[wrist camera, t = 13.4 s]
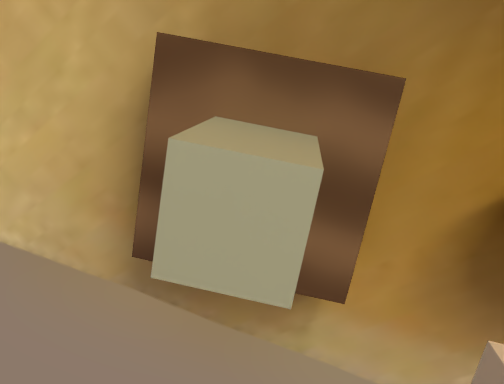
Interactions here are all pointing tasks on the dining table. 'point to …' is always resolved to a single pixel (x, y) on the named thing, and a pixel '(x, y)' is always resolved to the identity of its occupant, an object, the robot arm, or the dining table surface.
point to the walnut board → (281, 117)
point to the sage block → (237, 209)
